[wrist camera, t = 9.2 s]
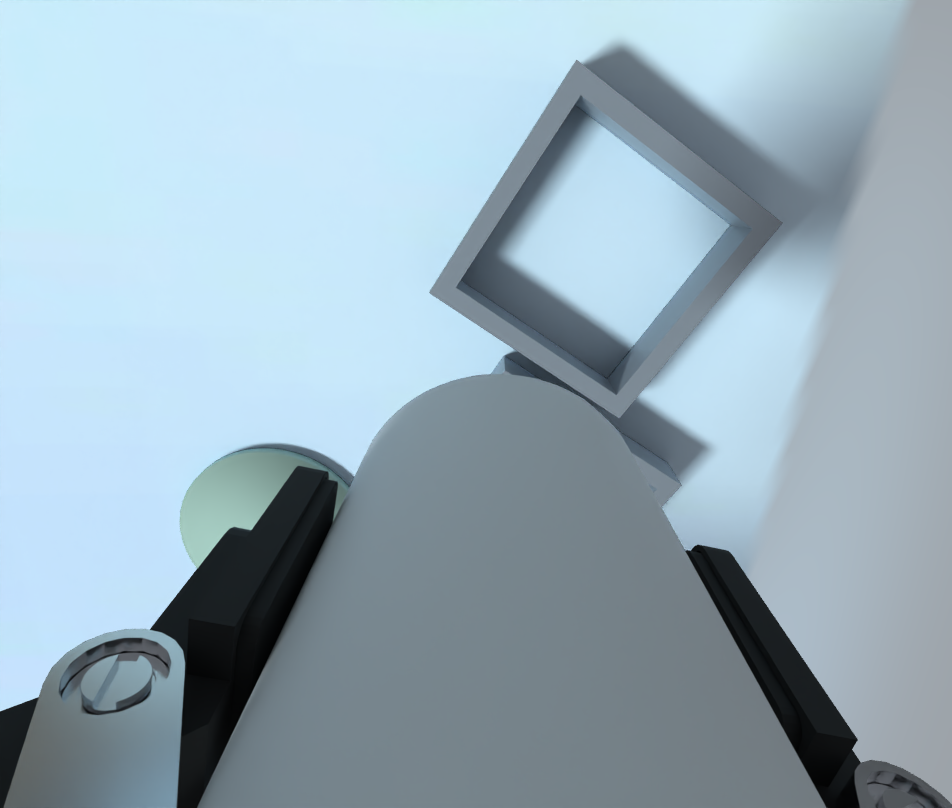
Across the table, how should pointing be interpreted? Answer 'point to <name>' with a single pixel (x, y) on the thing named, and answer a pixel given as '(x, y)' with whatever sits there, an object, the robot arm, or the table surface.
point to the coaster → (238, 495)
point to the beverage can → (505, 634)
